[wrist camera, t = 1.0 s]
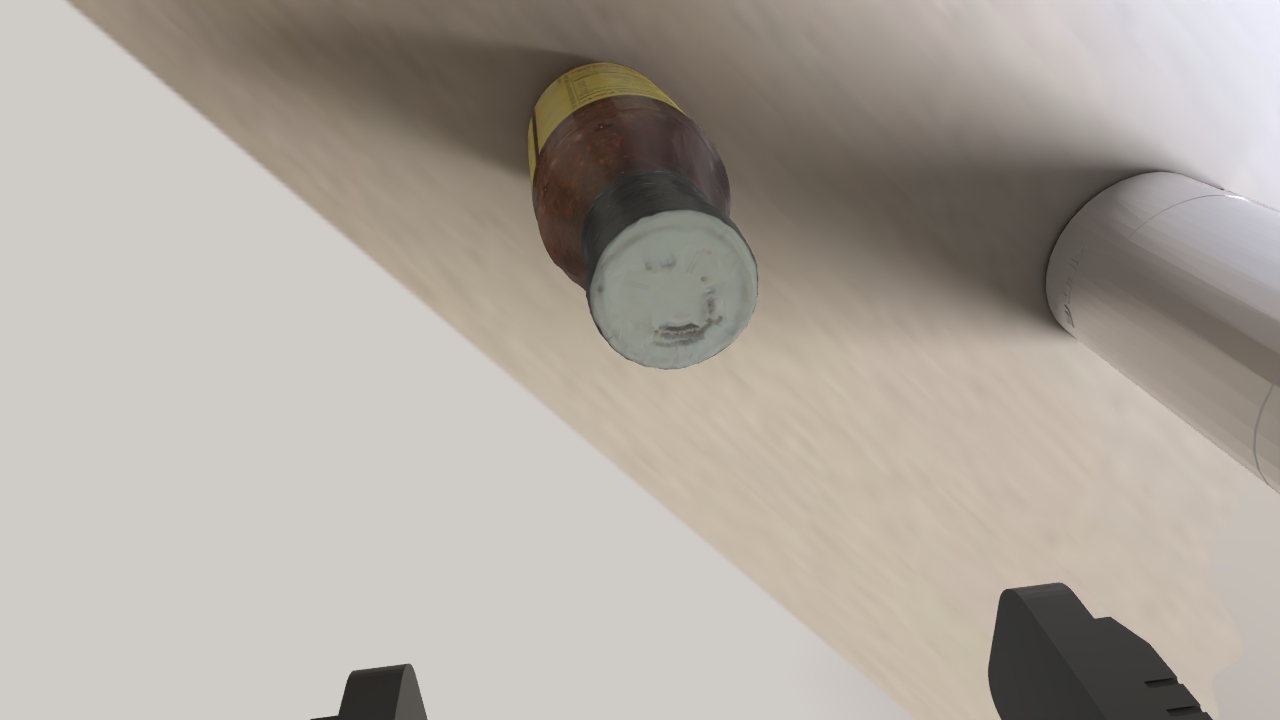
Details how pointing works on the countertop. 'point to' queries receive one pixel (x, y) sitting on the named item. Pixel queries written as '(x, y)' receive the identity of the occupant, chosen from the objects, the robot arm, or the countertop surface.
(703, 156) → the sauce bottle
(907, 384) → the countertop surface
